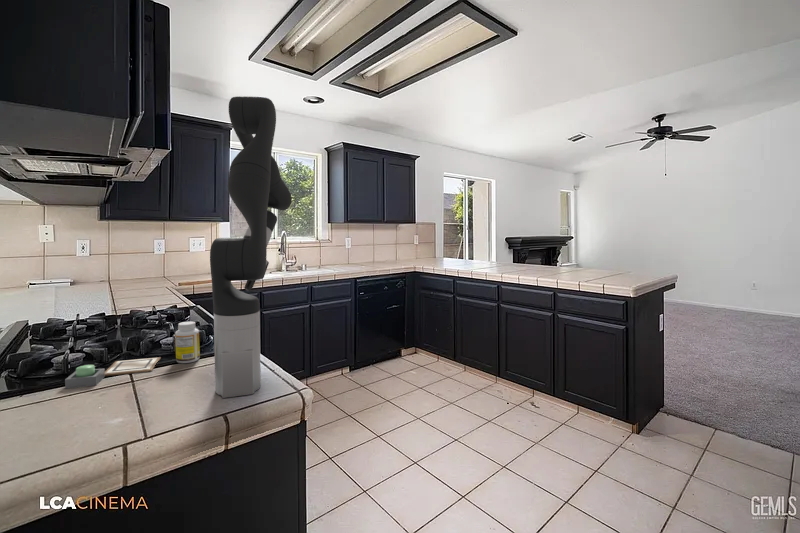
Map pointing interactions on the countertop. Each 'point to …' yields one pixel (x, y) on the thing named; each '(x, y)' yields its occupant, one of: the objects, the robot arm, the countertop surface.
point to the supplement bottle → (187, 343)
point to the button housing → (84, 379)
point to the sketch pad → (132, 366)
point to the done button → (85, 371)
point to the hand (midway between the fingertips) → (234, 287)
